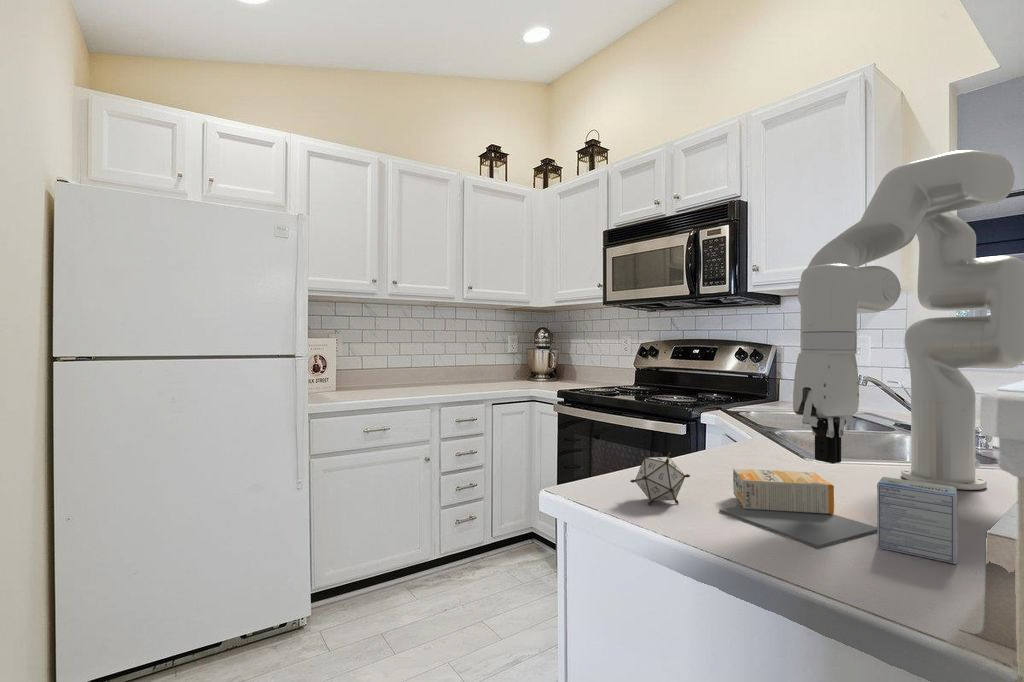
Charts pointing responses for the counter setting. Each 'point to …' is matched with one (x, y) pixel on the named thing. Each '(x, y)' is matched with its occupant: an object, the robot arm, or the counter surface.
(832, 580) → the counter surface
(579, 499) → the counter surface
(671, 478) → the game die
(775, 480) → the supplement box
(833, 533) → the mat
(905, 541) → the medicine box
